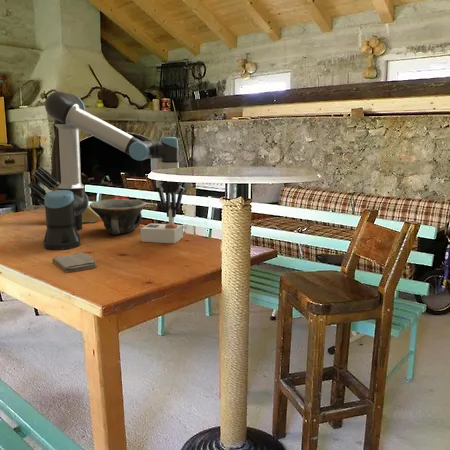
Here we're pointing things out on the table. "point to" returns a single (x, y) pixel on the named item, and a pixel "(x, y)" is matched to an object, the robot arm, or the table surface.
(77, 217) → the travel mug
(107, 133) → the robot arm
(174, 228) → the pink cube
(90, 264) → the washcloth
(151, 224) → the grey metal cube
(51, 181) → the knife block
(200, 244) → the table surface
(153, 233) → the block
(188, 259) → the table surface
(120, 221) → the bowl
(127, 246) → the table surface
